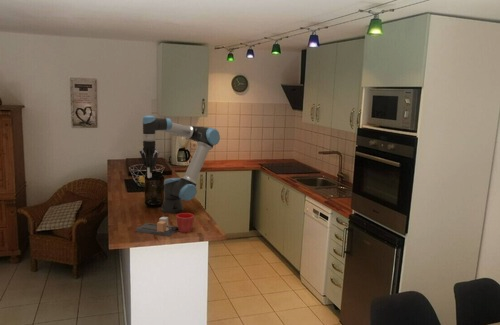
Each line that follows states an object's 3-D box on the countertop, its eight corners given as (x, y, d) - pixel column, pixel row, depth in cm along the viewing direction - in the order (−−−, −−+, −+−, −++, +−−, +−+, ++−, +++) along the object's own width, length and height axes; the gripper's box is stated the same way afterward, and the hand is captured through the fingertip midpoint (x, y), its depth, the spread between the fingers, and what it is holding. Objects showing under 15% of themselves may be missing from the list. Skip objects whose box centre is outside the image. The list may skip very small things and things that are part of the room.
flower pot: (194, 227, 262) (194, 212, 260) (192, 233, 251) (193, 218, 249) (177, 227, 261) (177, 212, 260) (175, 233, 251) (175, 217, 249)
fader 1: (162, 224, 259) (162, 216, 259) (168, 225, 258) (168, 217, 257) (159, 226, 256) (159, 218, 255) (165, 227, 254) (164, 219, 254)
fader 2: (160, 229, 251) (160, 221, 250) (166, 229, 250) (166, 221, 249) (157, 231, 247) (156, 222, 246) (163, 231, 246) (163, 223, 245)
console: (146, 225, 263) (146, 222, 263) (178, 230, 256) (178, 227, 256) (136, 231, 252) (136, 228, 251) (168, 236, 245) (168, 233, 245)
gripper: (136, 140, 260) (137, 177, 264) (155, 141, 256) (155, 179, 260) (143, 139, 267) (143, 175, 271) (161, 140, 263) (161, 177, 267)
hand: (149, 177), depth 265 cm, fingers closed
